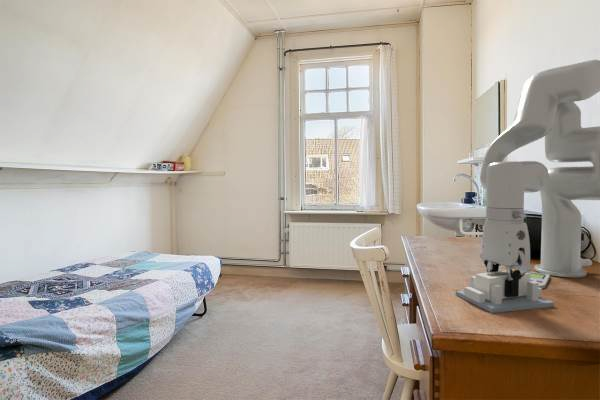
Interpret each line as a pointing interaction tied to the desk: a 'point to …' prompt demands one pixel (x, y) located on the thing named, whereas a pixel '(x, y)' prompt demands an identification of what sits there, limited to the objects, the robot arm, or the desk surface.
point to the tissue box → (486, 279)
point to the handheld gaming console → (539, 278)
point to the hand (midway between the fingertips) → (502, 292)
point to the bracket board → (506, 304)
